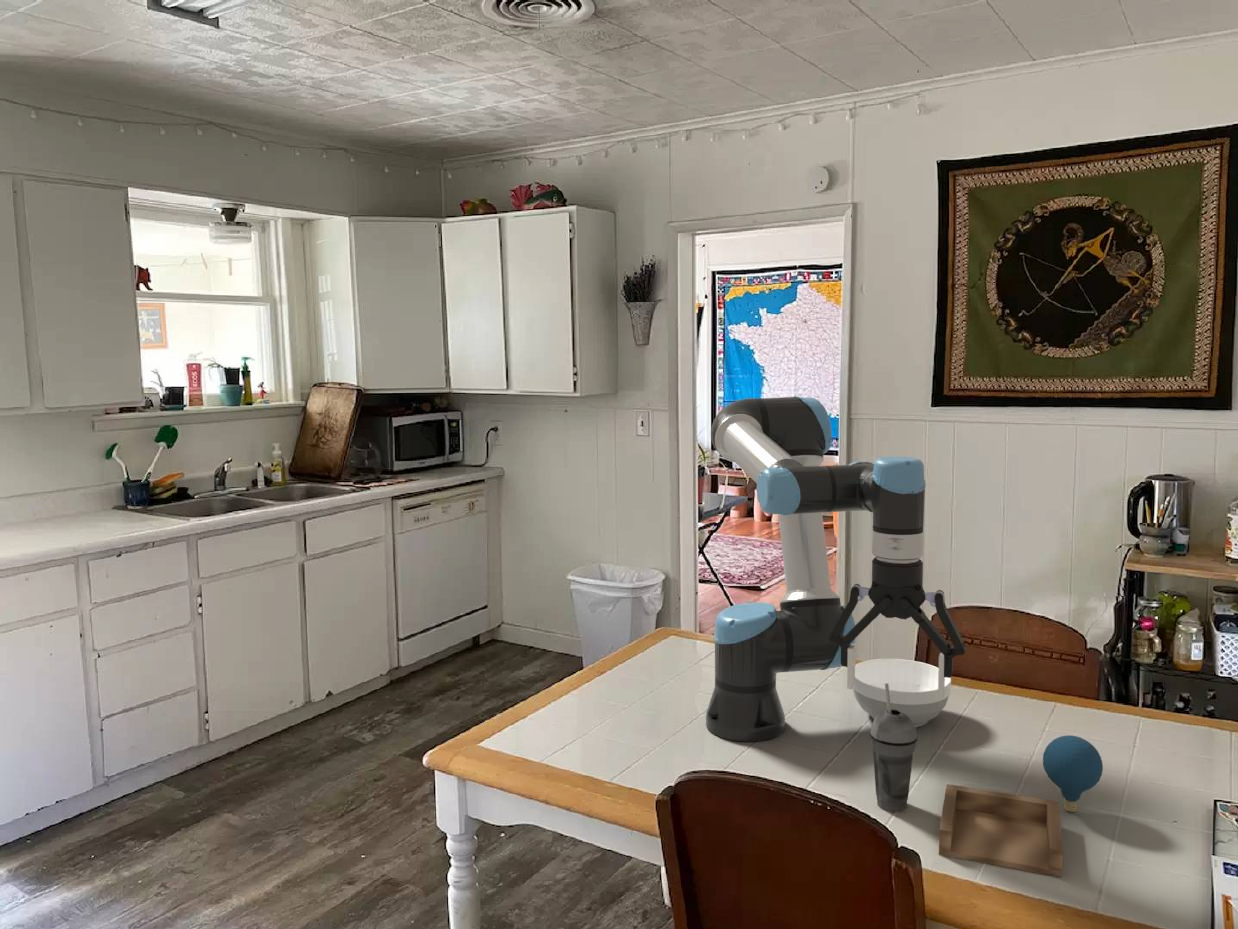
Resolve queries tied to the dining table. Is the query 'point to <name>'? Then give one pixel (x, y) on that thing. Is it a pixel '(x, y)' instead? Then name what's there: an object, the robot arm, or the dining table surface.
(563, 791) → the dining table surface
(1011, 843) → the u rest
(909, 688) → the bowl
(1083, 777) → the light bulb
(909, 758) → the beverage cup
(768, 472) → the robot arm
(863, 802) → the dining table surface
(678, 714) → the dining table surface
